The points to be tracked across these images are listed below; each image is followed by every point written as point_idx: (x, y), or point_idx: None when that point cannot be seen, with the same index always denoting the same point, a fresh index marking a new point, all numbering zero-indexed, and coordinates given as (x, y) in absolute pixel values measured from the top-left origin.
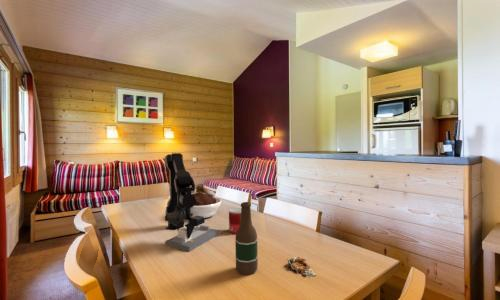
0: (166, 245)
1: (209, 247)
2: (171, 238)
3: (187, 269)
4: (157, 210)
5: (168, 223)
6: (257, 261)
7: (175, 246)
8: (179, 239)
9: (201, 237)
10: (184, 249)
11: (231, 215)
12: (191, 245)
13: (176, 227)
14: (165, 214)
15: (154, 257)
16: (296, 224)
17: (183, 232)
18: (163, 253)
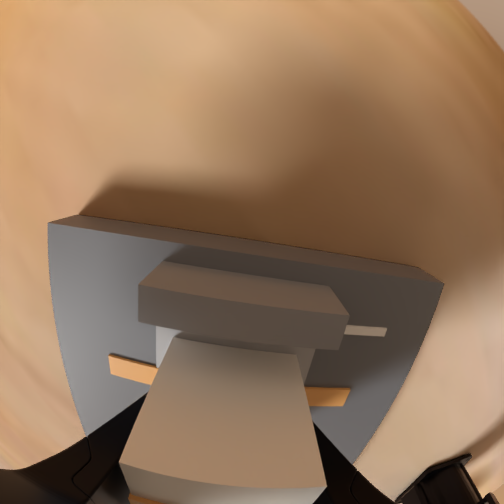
0: (405, 266)
1: (18, 330)
2: (406, 368)
3: (11, 12)
4: (495, 484)
5: (467, 477)
6: None
7: (276, 248)
8: (203, 294)
9: None
10: (132, 223)
11: None
12: (49, 260)
13: (384, 500)
14: (496, 499)
15: (338, 4)
16: None
17: (173, 438)
18: (319, 81)
